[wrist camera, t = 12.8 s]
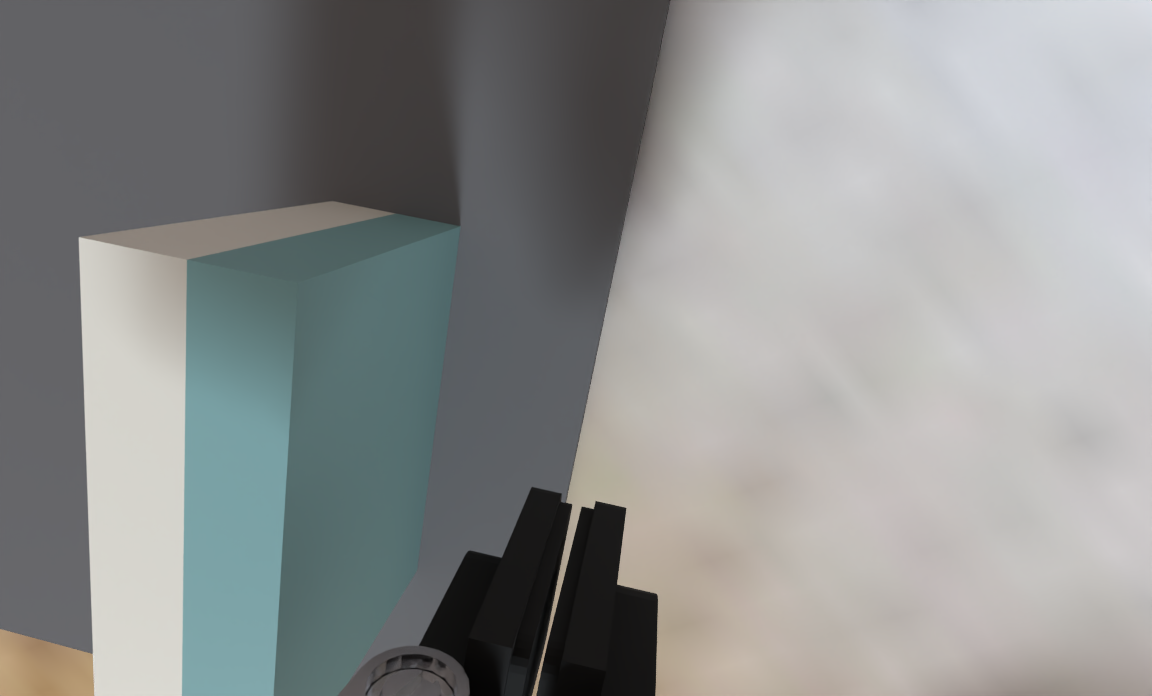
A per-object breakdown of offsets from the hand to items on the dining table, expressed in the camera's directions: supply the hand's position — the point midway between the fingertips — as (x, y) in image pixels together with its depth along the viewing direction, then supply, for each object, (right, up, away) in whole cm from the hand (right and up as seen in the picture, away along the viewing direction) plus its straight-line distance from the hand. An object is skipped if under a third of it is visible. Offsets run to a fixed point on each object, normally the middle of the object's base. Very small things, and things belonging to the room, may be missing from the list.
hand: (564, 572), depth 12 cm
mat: (-7, +3, +6) cm, 10 cm away
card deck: (-5, +3, +5) cm, 7 cm away
